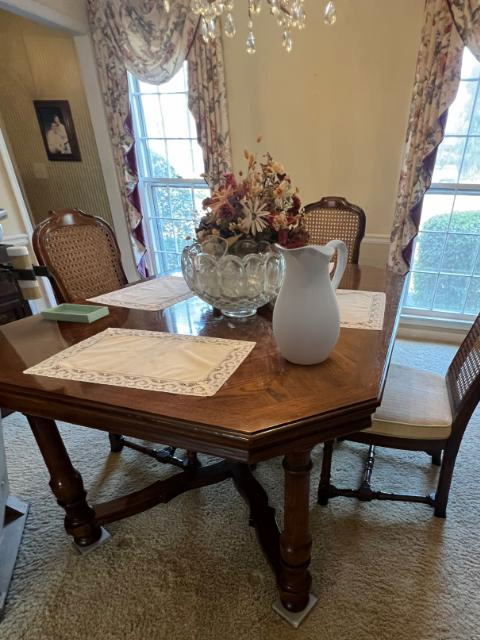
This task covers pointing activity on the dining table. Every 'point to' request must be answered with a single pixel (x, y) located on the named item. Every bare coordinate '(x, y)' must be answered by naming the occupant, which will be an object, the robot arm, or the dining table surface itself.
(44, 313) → the tray
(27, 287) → the sprinkles bottle
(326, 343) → the pitcher
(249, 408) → the dining table surface
